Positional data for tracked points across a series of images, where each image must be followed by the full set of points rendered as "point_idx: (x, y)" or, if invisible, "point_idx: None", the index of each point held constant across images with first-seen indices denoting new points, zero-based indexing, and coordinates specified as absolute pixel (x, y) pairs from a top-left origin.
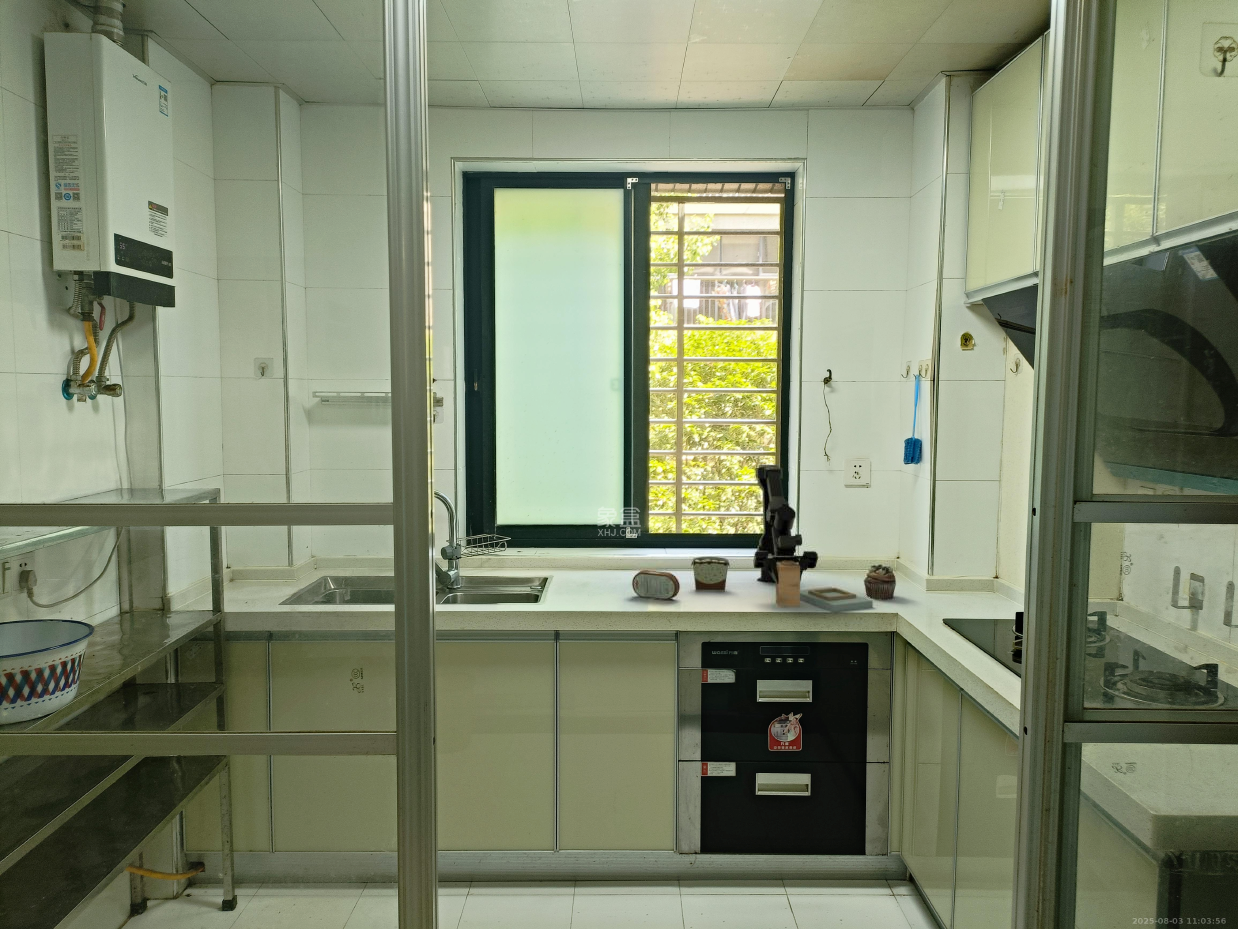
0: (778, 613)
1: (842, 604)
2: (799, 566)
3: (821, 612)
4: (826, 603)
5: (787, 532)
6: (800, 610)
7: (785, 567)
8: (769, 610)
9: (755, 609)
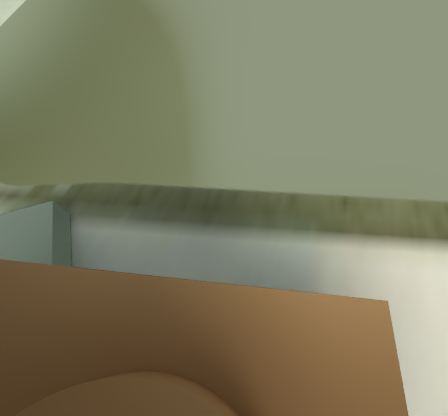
0: (297, 211)
1: (2, 214)
2: (8, 262)
3: (118, 214)
4: (54, 247)
5: None
6: (190, 251)
7: (263, 293)
8: (331, 262)
9: (400, 286)
